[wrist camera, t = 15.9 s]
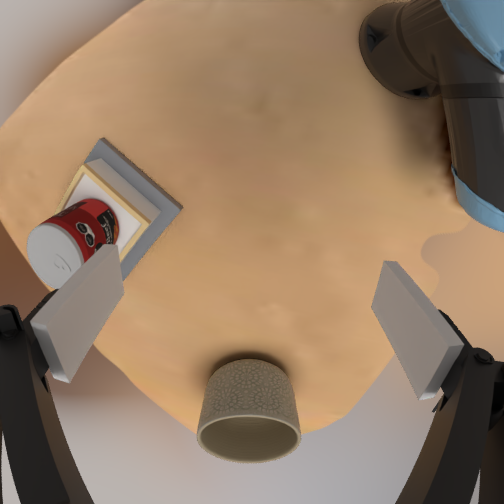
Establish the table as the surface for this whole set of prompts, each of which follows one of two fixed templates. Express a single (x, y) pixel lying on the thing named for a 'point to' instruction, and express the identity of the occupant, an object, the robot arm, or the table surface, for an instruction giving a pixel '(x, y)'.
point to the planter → (249, 413)
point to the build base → (123, 200)
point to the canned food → (70, 240)
